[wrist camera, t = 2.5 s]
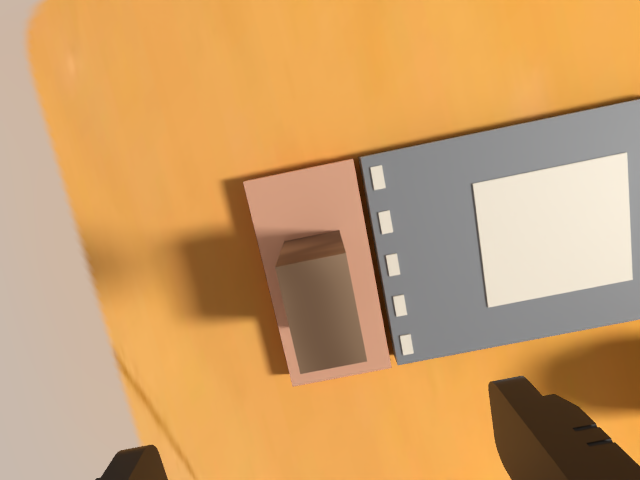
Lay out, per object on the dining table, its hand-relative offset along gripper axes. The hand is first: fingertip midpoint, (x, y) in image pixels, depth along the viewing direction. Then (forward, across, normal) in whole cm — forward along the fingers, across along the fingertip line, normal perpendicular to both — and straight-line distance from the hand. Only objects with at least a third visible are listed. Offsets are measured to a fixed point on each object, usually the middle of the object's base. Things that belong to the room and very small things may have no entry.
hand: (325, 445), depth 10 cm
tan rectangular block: (+14, 0, 0) cm, 14 cm away
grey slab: (+14, -11, 0) cm, 18 cm away
